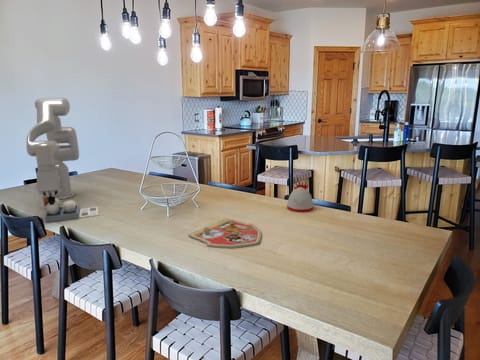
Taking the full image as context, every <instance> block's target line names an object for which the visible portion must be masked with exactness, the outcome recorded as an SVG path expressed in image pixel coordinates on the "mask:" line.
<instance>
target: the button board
mask: <svg viewBox="0 0 480 360" xmlns="http://www.w3.org/2000/svg"><path fill="white" fill-rule="evenodd" d="M75 205H76V209H73V210H74V211H72V212H66V210H64V206H60V207H59V210H58V211H57V212H58V213H57V214H53V215H51V214H50V213H49V212H48V210H46V212H45V215H44V223H45V224H50V223H56V222H63V221H72V220H79V219H80V218H79V216H80V205H79V204H75Z"/></svg>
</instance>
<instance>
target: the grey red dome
mask: <svg viewBox="0 0 480 360" xmlns="http://www.w3.org/2000/svg"><path fill="white" fill-rule="evenodd" d="M309 185H310V184H308V183H307V181H305V182H303V181H301V183H300V181H298V183H297V182H296V183H295V185H294V184H293V185H292V187H293V189H294V190H292V191H291V193H290V195H289V197H288V200H287V204H286V209H287V210H289V211H291V212H293V213H309V212H312V211H314V201H313V198H312V195H311V193H310V192H309V190H308V188H309Z"/></svg>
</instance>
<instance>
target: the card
mask: <svg viewBox="0 0 480 360" xmlns="http://www.w3.org/2000/svg"><path fill="white" fill-rule="evenodd" d="M98 216H99V207H98V206H93V207H87V208H79V218H78V219H82V218H84V219H85V218H92V217H98Z"/></svg>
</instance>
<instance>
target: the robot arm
mask: <svg viewBox="0 0 480 360" xmlns="http://www.w3.org/2000/svg"><path fill="white" fill-rule="evenodd" d="M34 107H35V109H36V124H35V125H34V126H33V127H31V129H30V130H29V131H28V133H27V135H26V152H27V154H28V155H29V156H30V157H36V165H37V167H38V171H37V176H36V182H37V183H36V184H37V194H39V195H42V194H44V195H45V196H47V197H48V203H50V205H54V202H55V195H56V194H57V193H58V196H59V200H65V199H70V198H72V197H75V192H73V191H72V188H71V185H72V184H71V178H70V171H69V167H68V166H67V164H65V163H64V162H69V161H70V162H71V161H77V160H79V158H80V151H79V150H80V149H79V143H78V137H77V136H78V135H77V133H76V129H75V128H74V127H72V126H62V123H61V118H60V116H61V117H64V116H67V115H68V114H69V112H70V108H71V105H70V102H69V100H68V98H65V97H64V98H63V97H60V98H58V97H57V98H55V97H54V98H38V99H36V100H35V101H34ZM45 134H46V139H47V140H36V139H38V137H40V136H42V135H45ZM35 140H36V141H35ZM59 144H60V145H59ZM61 144H62V145H61ZM64 144H67V145H64ZM55 190H56V191H55ZM49 191H52V195H50V194H49Z"/></svg>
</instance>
